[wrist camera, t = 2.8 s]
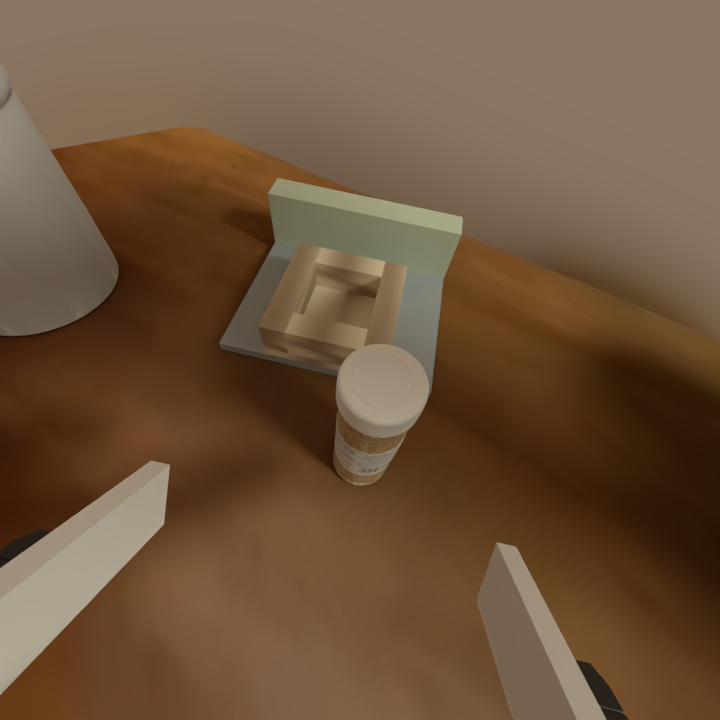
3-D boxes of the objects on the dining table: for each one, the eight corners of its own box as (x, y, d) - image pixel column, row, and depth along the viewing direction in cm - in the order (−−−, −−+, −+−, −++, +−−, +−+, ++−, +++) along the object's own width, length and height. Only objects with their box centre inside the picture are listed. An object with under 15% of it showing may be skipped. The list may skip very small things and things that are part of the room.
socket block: (400, 294, 36) (407, 266, 33) (382, 381, 30) (389, 357, 27) (301, 272, 36) (299, 242, 33) (265, 353, 30) (258, 326, 27)
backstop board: (442, 268, 40) (462, 217, 35) (428, 397, 31) (452, 356, 25) (284, 234, 41) (278, 178, 35) (221, 349, 31) (198, 298, 26)
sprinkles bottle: (384, 431, 29) (424, 340, 17) (389, 487, 26) (439, 423, 15) (331, 432, 28) (336, 339, 17) (331, 488, 26) (336, 424, 14)
